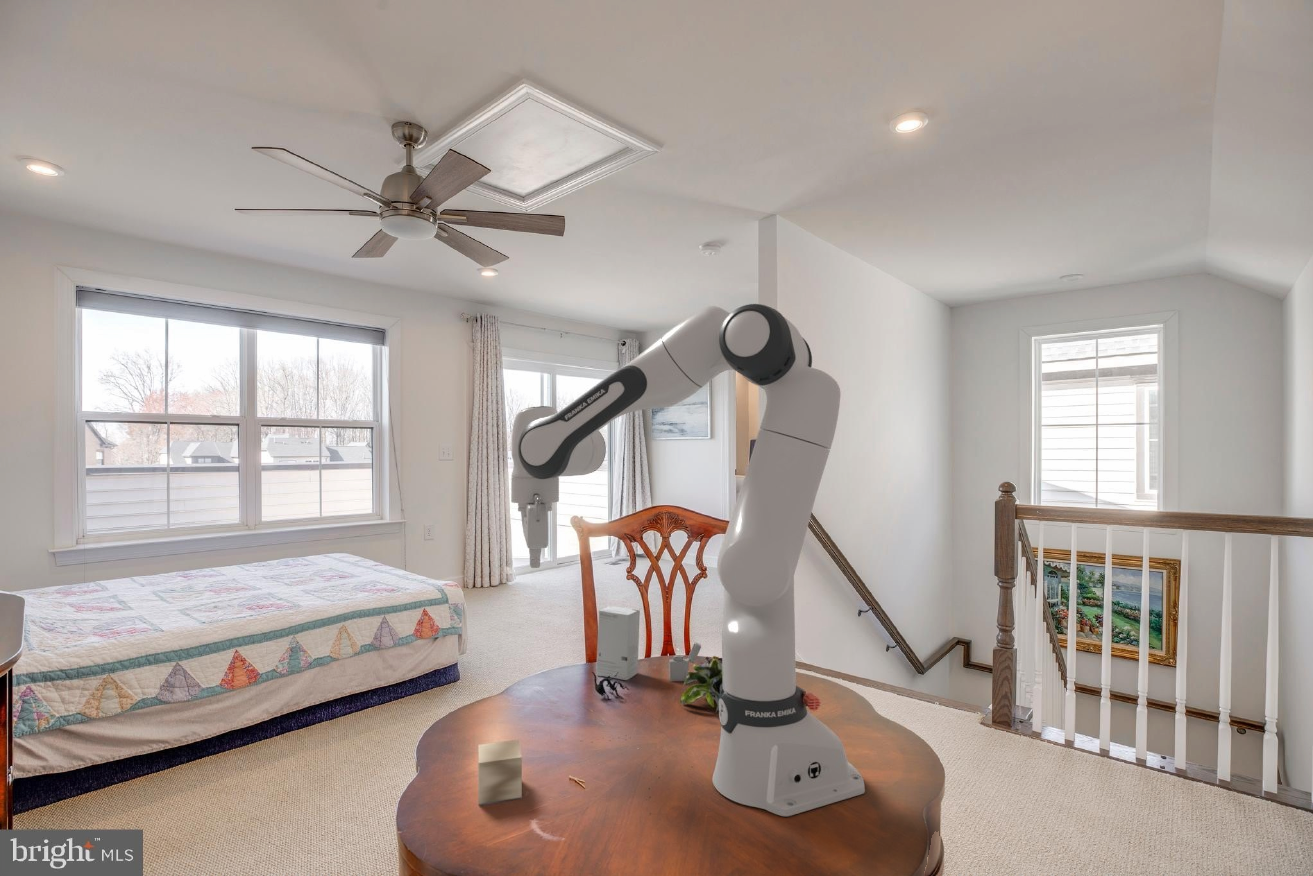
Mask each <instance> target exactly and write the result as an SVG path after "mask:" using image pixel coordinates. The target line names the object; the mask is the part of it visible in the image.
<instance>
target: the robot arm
mask: <svg viewBox="0 0 1313 876" xmlns="http://www.w3.org/2000/svg"><path fill="white" fill-rule="evenodd" d="M812 364H813V357H812V352H811V348H810V346H809V344H808V342H807V341H806V339H805V338H804V337H803V336H802V334H801V333H800V331H799V330H798V328H797V327H796V326H795V325H794V324H793V322H791V321H790V320H789V319H788V318H787V317H785V316H783V314H782V313H781V312H780V311H778V310H776V309H775V308H773V307H771V306H768V305H765V304H760V303H749V304H745V305H743V306H740V307H738V308H736V309H734V310H733V311H732V312H731V313H730V312H728V311H727V310H726V309H724V308H721V307H719V306H715V305H714V306H713V305H712V306H706V307H704V308H702V309H700V310H698V311H696V312H694V313H692V314H691V315H690V316H688V317H686V318H684V319H683V320H681V321H680V322H679V323H677V324H676V325H675V326H673V327H672V328H670V329H669V330H668V331H667V332H666V333H664V334H663V335H661V337H659V338H658V339H657V340H656V341H654V342H653V343H652V344H651V345H650V346H649V347H647V348H646V349H645V350H643V351H642V352H641V353H640V354H638V355H637V356H636V357H635V358H633V359H632V360H631V361H629V362H627V363H626V364H625V365H624V366H622V367H620V368H619V369H617V370H616V371H614V373H611V374H610V375H608V376H607V377H605V378H603V379H602V380H600V381H599V382H598V383H596V384H595V385H594V386H592V387H591V388H590V389H588V390H587V391H585V392H584V393H582V394H581V395H580V396H578V397H577V398H576V399H575V400H573V401H572V402H570V403H569V404H568V405H566V406H565V407H563V408H562V409H560V410H559V411H558V410H557V408H555V407H553V406H550V405H549V406H547V405H546V406H545V405H539V406H531V407H528V408H524V409H521V410H520V411H519V412H517V414H516V415H515V418H514V421H513V424H512V432H511V458H512V461H513V468H512V472H511V478H510V479H511V482H510V483H511V486H510V487H511V489H510V490H511V493H510V495H511V496H510V498H511V503H513V504H517V507H518V508H517V511H518V512H520V516H521V522H522V523H521V526H522V533H523V536H524V540H525V543H526V546H527V548H528V552H529V565H530V568H532V569H538V568H539V569H540V567H541V557H542V549H547V548H548V546H549V512H552V511H553V503H558V502H560V501H559V500H560V497H559V496H560V489H559V488H560V478H561V477H574V476H586V475H590V474H591V473H595V472H596V471H597V470H598V469H600V468H601V466H602V464H603V463H604V461H605V458H606V453H607V449H606V447H607V446H606V441H605V438H604V437H603V435H602V433H601V431H600V430H601V429H603V428H604V427H605V426H607V425H609V423H611V422H613V421H614V420H616V419H618V418H619V417H621V416H624V415H626V414H629V413H634V412H637V411H643V410H651V409H653V410H654V409H663V408H670V407H673V406H675V405H677V404H680V403H681V402H683V401H685V400H687V399H688V398H689V397H691V396H693V395H694V394H696V393H697V392H698V391H699V390H701V389H702V388H703V387H705V386H706V385H707V384H708V383H709V382H711V381H712V380H713V379H715V378H716V377H717V376H718V375H721V374H722V373H724V372H726V371H730V370H731V371H732V370H733V371H735V372H737V373H739V374H740V375H741V376H742V377H743V378H744V379H745V380H746V381H748V382H750V383H751V384H753V385H754V386H757V387H760V388H761V389H763V390H764V392H765V395H766V406H765V411H764V415H763V418H762V420H761V423H760V425H759V430H758V432H757V437H756V438H755V439H756V440H755V442H754V446H753V449H752V452H751V455H750V456H751V457H750V460H749V462H748V465H747V468H746V471H745V475H744V478H743V481H742V484H741V486H740V489H739V493H738V496H737V499H736V502H735V504H734V507H733V510H732V512H731V516H730V519H729V522H728V525H727V527H726V532H725V534H724V537H723V541H722V543H721V547H720V550H719V553H718V557H717V564H716V565H717V567H716V568H717V573H718V577H719V580H720V583H721V586H723V588H724V591H723V612H722V613H723V616H722V628H721V629H722V630H721V658H722V684H721V685H720V699H719V708H718V716H719V724H720V726H721V728H720V739H719V745H718V746H719V747H718V753H717V758H716V763H715V767H714V771H713V774H712V777H711V778H712V784H713V786H714V788H715V789H716V790H717V791H718V792H719V793H720V794H721V795H722V796H724V797H726V798H727V799H729V800H730V801H732V802H735V803H738V804H740V805H745V806H748V807H755V808H758V809H763V810H766V811H768V812H770V813H772V814H775V815H778V816H781V817H792V816H794V815H796V814H801V813H804V812H807V811H811V810H814V809H817V808H820V807H824V806H827V805H830V804H835V803H837V802H840V801H843V800H848V799H850V798H853V797H856V796H860V795H862V794H863V795H864V794H865V793H866V789H865V780H864V777H862V775H861V773H860V772H859V771H858V769H857V768H855V766H854V765H852V764H851V763H850V762H849V761H848V758H847V753H846V750H845V747H844V744H843V742H842V741H841V739H840V738H839V737H838V735H837V734H836V733H835V732H834V731H833V730H832V729H830V728H829V727H828V726H827V725H826V724H825V723H823V722H822V721H820V720H819V719H818V718H817V717H815V715H813V714H812V713H811V712H809V711H808V710H807V707H808V709H809V710H810V711H814V712H815V711H817V710H818V709H819V708H820V707H821V705H820V704H821V700H820V699H819V697H818V696H816V695H815V694H814V693H811V692H806V691H805V690H804V689H803V688H801V687H799V686H798V685H796V684H797V683H796V682H797V680H796V679H797V676H796V625H795V624H796V623H795V616H796V615H795V577H794V576H795V573H796V569H797V566H798V562H799V559H800V557H801V556H800V555H801V552H802V549H803V546H804V541H805V537H806V534H807V532H808V526H809V524H810V519H811V515H812V512H813V508H814V504H815V501H816V497H817V494H818V490H819V487H820V484H821V481H822V478H823V474H824V472H825V468H826V465H827V461H828V459H829V455H830V452H831V448H832V444H833V441H834V438H835V435H836V430H837V424H838V420H839V419H838V418H839V413H840V403H841V388H840V385H839V383H838V382H837V380H835V378H834V377H832V376H831V375H830V374H828V373H827V372H825V371H823V370H821V369H818V368H814V367H812Z"/></svg>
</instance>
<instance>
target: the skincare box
mask: <svg viewBox="0 0 1313 876" xmlns="http://www.w3.org/2000/svg"><path fill="white" fill-rule="evenodd" d="M640 612H641V611H640V610H639V609H636V608H635V609H634V608H629V607H624V606H623V607H622V606H615V605H614V606H611V605H608V606H607V607H604V608H601V609H599V610H598V621H597V622H598V623H597V624H598V626H597V627H598V628H597V646H596V647H597V648H596V668H595V671H596V673H595V675H596V677H603V678H607V677H608V676H610V677H609V679H611V678H612V679H618V680H623V681H628V680H630V679H631V678H633V677H634V676H636V675H637V674H638V672H639V671H638V670H639V645H640V643H639V642H640V641H639V640H640V615H641V613H640ZM617 673H618V674H617ZM616 674H617V675H616ZM615 675H616V676H615ZM614 676H615V677H614Z"/></svg>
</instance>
